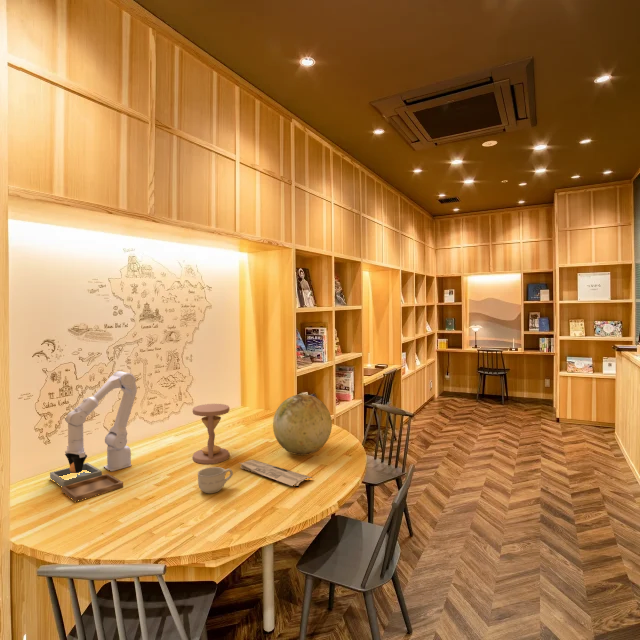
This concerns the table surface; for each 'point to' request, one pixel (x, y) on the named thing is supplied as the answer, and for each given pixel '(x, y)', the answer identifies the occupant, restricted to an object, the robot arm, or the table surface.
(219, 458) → the hourglass
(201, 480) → the teacup
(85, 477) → the dish
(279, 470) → the newspaper
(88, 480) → the tray
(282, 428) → the olive sphere
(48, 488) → the table surface
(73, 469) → the ball
